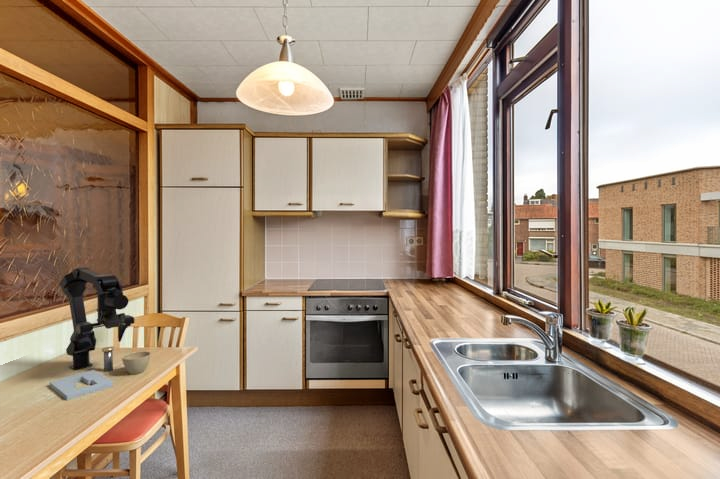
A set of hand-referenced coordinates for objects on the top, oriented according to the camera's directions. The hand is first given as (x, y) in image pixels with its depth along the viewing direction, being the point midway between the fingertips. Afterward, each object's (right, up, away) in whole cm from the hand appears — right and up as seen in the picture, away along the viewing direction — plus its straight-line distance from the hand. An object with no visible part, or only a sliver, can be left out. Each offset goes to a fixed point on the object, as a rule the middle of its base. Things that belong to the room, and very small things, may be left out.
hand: (106, 344), depth 145 cm
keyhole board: (-2, -13, -10) cm, 16 cm away
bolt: (-2, -12, +5) cm, 13 cm away
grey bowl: (+11, -12, +2) cm, 17 cm away
